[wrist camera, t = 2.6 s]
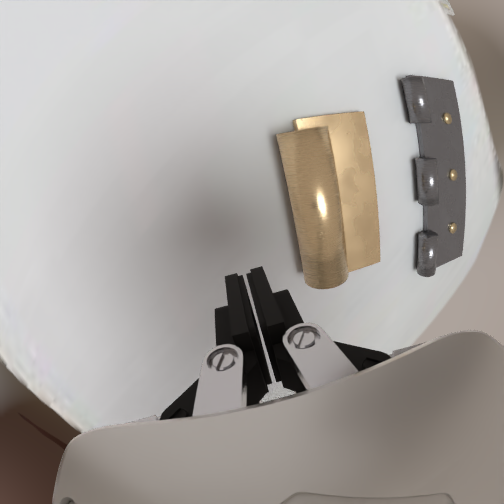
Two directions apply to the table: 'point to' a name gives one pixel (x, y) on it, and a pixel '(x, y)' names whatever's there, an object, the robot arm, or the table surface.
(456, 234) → the steel hinge leaf
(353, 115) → the bronze hinge leaf
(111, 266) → the table surface
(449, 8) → the mounting bracket
